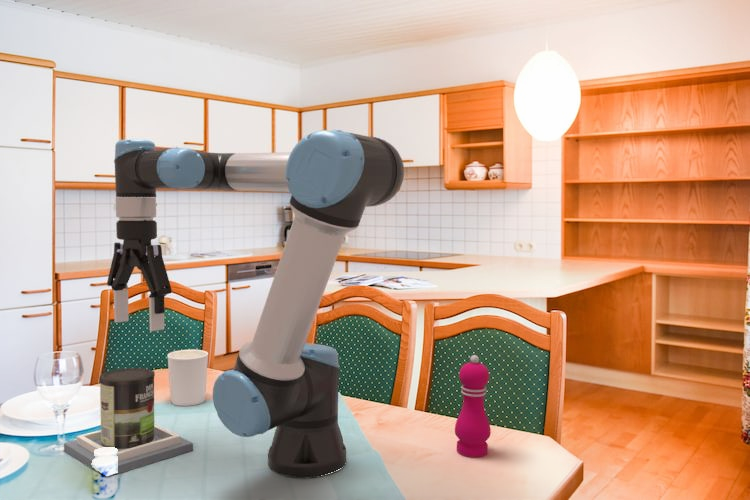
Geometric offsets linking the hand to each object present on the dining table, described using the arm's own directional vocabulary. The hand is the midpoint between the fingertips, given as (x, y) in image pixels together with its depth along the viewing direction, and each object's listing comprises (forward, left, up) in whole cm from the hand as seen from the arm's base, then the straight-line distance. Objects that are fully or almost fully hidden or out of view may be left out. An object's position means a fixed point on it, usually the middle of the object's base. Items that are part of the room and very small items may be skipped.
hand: (138, 325), depth 130 cm
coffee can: (+1, +2, -24) cm, 24 cm away
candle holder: (+21, -24, -25) cm, 40 cm away
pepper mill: (-49, -46, -25) cm, 72 cm away
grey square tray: (+1, +2, -25) cm, 25 cm away
